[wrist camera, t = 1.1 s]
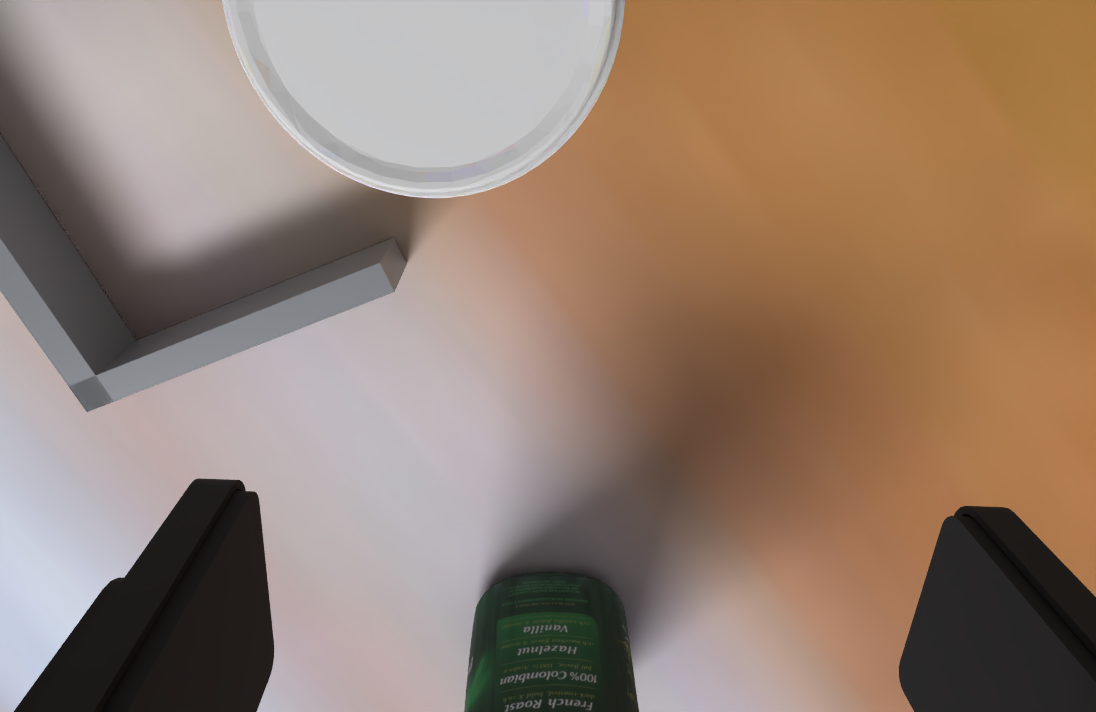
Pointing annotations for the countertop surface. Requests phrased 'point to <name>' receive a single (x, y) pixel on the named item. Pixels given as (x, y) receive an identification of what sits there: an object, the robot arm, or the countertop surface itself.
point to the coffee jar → (550, 648)
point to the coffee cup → (428, 83)
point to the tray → (134, 365)
